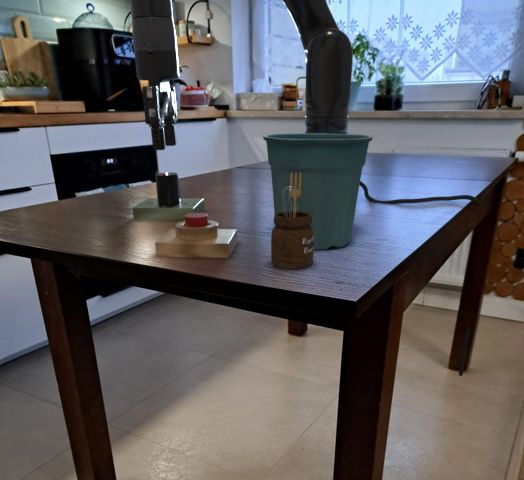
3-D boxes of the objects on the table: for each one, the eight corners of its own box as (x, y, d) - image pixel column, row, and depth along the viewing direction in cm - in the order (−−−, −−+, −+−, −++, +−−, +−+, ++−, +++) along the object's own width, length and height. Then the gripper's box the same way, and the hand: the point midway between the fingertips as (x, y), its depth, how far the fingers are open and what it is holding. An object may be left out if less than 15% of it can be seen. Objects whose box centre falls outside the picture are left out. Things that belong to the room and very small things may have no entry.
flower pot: (315, 225, 95) (318, 130, 88) (385, 242, 84) (396, 134, 76) (243, 239, 86) (241, 135, 79) (311, 261, 74) (315, 141, 67)
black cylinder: (160, 200, 105) (158, 170, 103) (182, 200, 105) (179, 170, 102) (155, 204, 101) (152, 173, 99) (177, 204, 101) (175, 173, 98)
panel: (204, 210, 108) (203, 197, 107) (194, 221, 99) (193, 207, 98) (148, 210, 109) (147, 197, 108) (133, 220, 100) (131, 206, 99)
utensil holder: (268, 269, 71) (267, 179, 66) (274, 257, 77) (274, 172, 71) (311, 271, 70) (314, 179, 65) (314, 258, 76) (317, 172, 70)
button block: (237, 242, 85) (236, 217, 83) (228, 258, 76) (227, 231, 75) (171, 241, 86) (169, 217, 84) (156, 257, 77) (153, 230, 76)
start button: (210, 224, 81) (210, 212, 80) (206, 229, 78) (205, 217, 77) (188, 223, 81) (187, 212, 80) (182, 229, 78) (181, 217, 77)
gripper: (146, 53, 98) (156, 145, 105) (121, 46, 85) (134, 151, 92) (185, 51, 97) (192, 144, 104) (166, 45, 84) (176, 151, 92)
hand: (165, 147), depth 98 cm, fingers open, 8 cm apart
